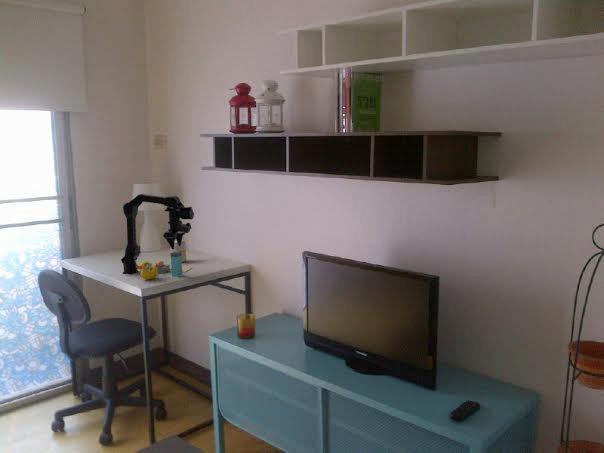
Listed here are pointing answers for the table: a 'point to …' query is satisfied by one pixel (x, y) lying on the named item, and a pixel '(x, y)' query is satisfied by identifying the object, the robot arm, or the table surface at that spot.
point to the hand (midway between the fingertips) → (176, 247)
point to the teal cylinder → (176, 264)
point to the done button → (159, 263)
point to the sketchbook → (184, 269)
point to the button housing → (162, 268)
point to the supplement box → (180, 249)
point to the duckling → (147, 270)
